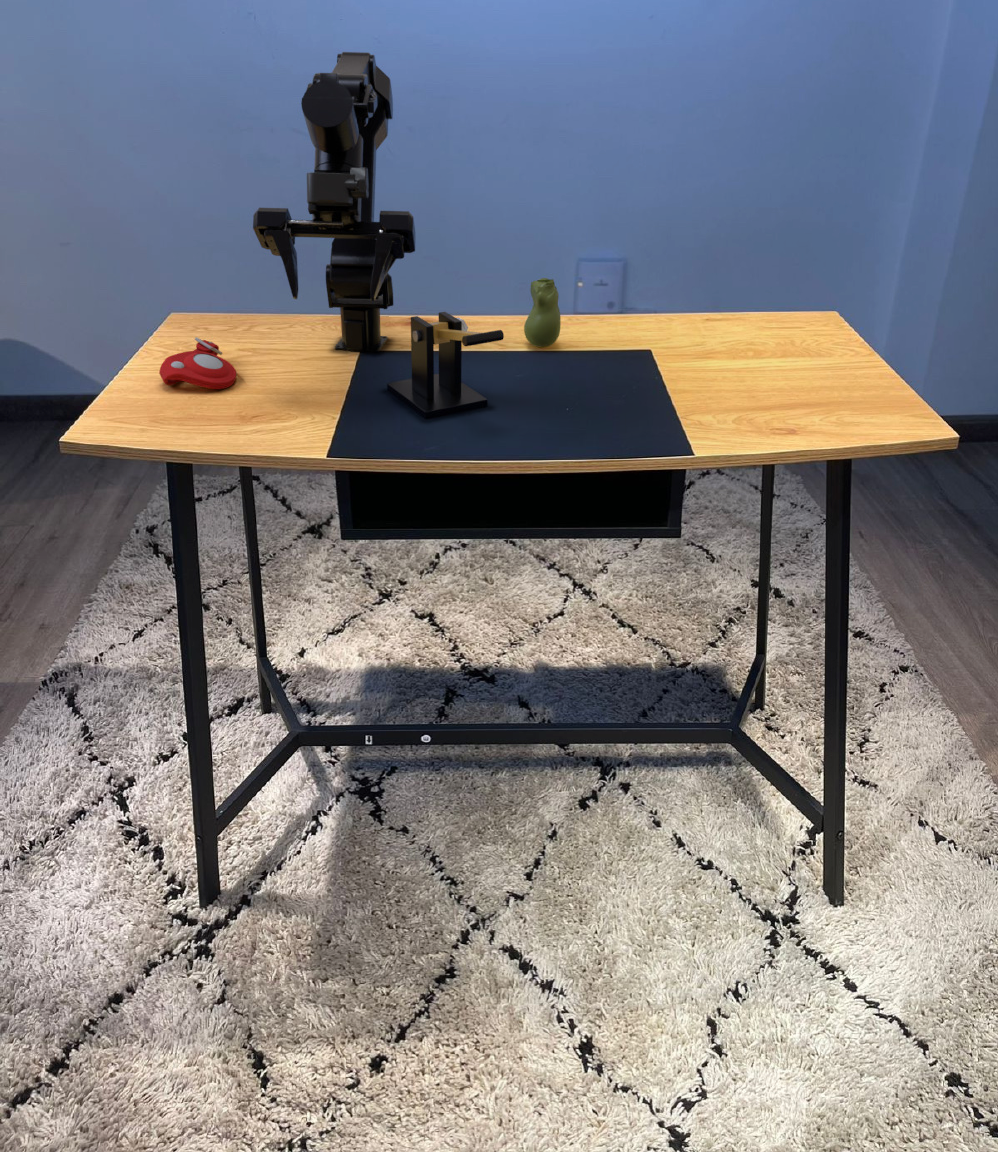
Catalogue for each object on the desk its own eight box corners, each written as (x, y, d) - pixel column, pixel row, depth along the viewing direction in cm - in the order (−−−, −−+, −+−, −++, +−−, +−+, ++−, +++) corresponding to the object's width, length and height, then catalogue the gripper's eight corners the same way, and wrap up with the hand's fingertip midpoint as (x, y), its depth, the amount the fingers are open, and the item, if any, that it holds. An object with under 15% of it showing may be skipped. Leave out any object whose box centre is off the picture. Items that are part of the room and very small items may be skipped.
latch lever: (504, 345, 120) (502, 324, 119) (468, 352, 118) (465, 330, 117) (449, 338, 132) (447, 320, 131) (414, 344, 130) (412, 325, 129)
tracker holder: (249, 377, 135) (175, 373, 129) (242, 406, 138) (169, 403, 132) (220, 331, 142) (148, 325, 137) (213, 358, 145) (143, 354, 139)
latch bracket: (487, 408, 132) (489, 326, 126) (425, 421, 128) (424, 337, 122) (446, 380, 140) (446, 302, 134) (387, 391, 136) (384, 311, 130)
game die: (439, 338, 154) (439, 318, 153) (459, 333, 156) (459, 314, 155) (452, 344, 152) (452, 325, 150) (472, 340, 154) (472, 320, 152)
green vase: (563, 351, 151) (567, 283, 146) (528, 353, 150) (531, 285, 145) (553, 338, 156) (556, 273, 150) (519, 340, 154) (522, 274, 149)
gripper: (245, 135, 115) (239, 268, 113) (411, 140, 115) (408, 272, 113) (265, 185, 126) (260, 306, 124) (417, 189, 126) (413, 310, 124)
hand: (333, 298), depth 121 cm, fingers open, 9 cm apart
